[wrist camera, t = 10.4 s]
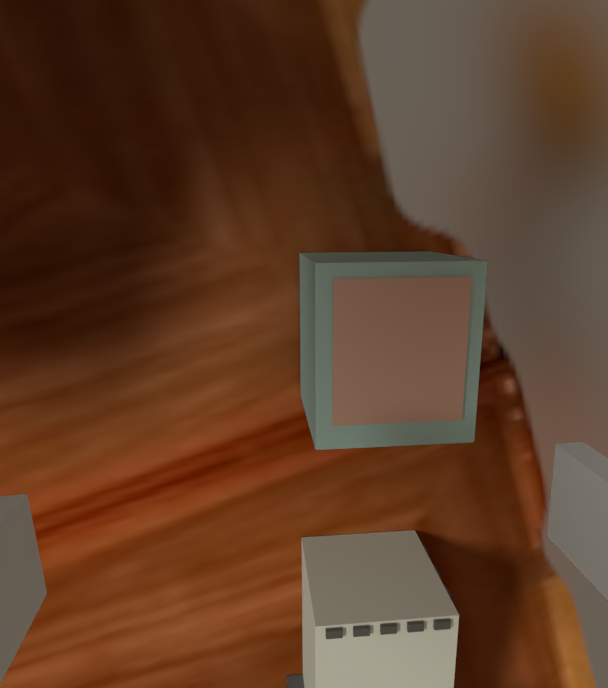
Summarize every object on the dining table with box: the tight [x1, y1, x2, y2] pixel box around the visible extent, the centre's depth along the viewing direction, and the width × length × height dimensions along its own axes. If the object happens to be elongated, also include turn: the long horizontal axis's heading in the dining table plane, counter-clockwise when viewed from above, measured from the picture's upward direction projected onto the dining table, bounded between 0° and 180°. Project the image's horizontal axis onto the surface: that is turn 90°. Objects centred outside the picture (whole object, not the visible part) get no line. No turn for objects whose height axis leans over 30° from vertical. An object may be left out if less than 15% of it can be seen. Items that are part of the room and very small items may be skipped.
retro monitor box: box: [300, 251, 488, 450], centre depth 28 cm, size 9×8×8 cm
